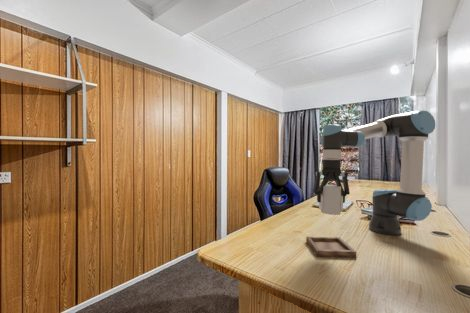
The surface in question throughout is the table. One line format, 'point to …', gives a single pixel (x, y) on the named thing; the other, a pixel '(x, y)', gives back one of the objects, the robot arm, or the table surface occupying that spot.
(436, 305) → the table surface
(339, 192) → the pale grey cylinder
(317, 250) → the tray
